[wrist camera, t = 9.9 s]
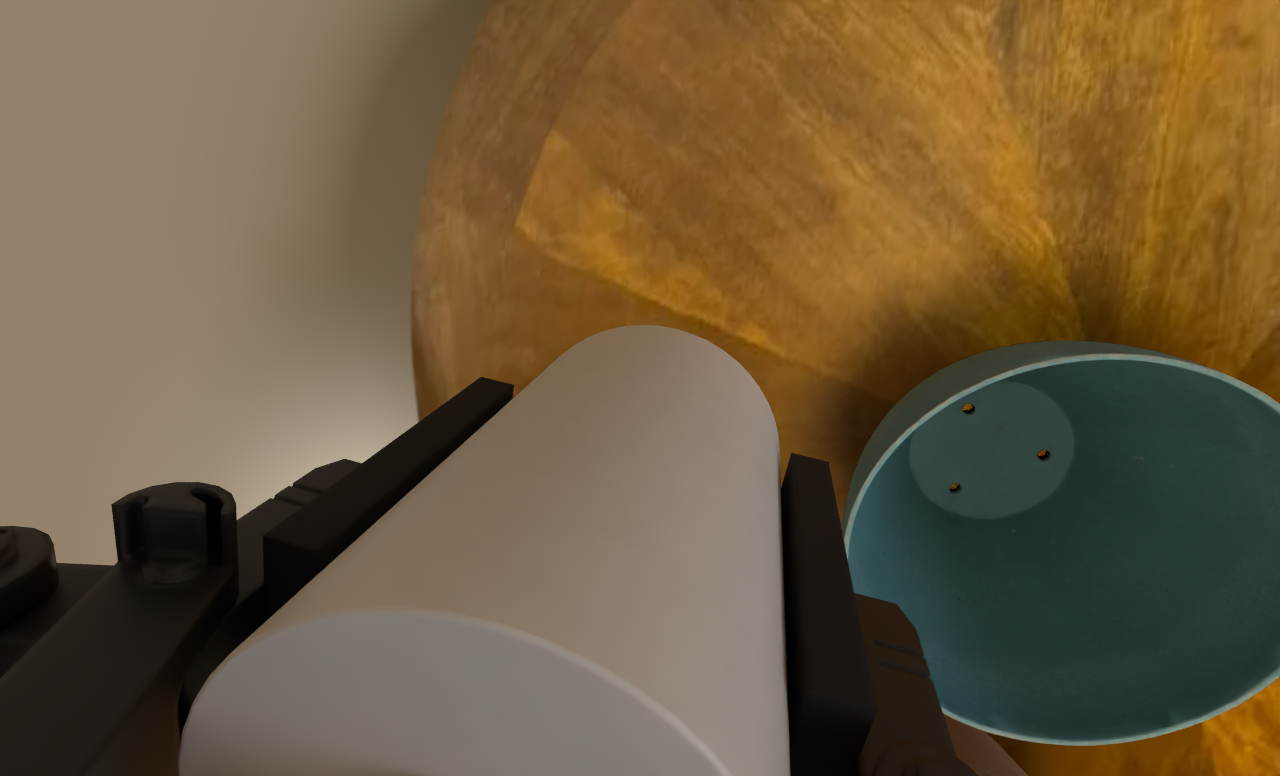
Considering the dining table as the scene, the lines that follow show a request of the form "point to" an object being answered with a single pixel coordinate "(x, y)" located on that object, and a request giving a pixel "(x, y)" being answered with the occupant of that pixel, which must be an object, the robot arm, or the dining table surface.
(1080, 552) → the plant pot
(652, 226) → the dining table surface
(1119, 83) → the dining table surface
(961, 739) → the vase
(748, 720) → the bottle
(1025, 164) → the dining table surface
